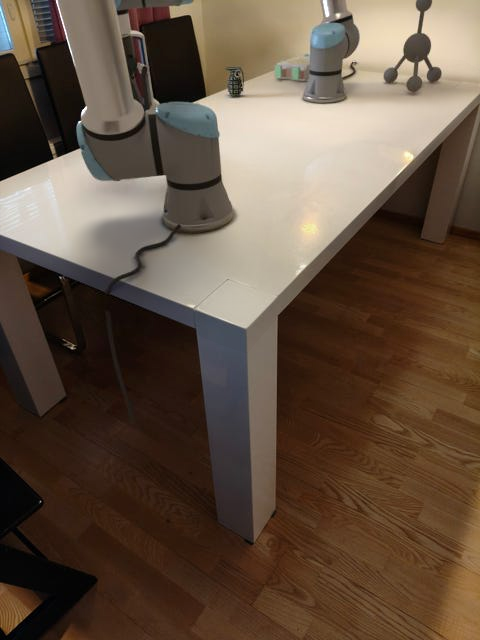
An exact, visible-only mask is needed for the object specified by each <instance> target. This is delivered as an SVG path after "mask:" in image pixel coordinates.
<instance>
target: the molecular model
mask: <svg viewBox="0 0 480 640" xmlns="http://www.w3.org/2000/svg"><path fill="white" fill-rule="evenodd" d="M432 5H433V0H415V9H416V10H417V11H418V12H420V13H419V18H418V26H417V30H416V33H413V34H411V35H409V37H407V39H406V40H405V42H404V44H403V48H402V49H403V50H402V51H403V52H402V53H403V56H401V58H400V60H399V61H398V62H397V63H396V64H395V66H394V67H388V68H386V69H385V71H384V73H383V80H384V82H386V83H388V84H391V83H394V82H396V81H397V80H398V76H399V72H398V69H399V68H400V67H401V65H402V64H403V63H404V62H405V60H407V61H408V62H410V63H412V64H413V74H412V76H410V77H409V78H408V79H407V81H406V89H407V90H408V91H409V92H411V93H416V92H418V91H419V90H420V89H421V88H422V87H423V79H422V77H420V75H419V63H421V62H423V61H424V62H425V65H426V67H427V69H428V71H427V72H426V79H427V81H428V82H430V83H436V82H438V81H439V80H440V79H441V78H442V74H443V73H442V69H441V68H440V67H439V66H433V65H432V63H431V60H430V59H429V54H430V52H431V51H432V41H431V39H430V37H429V36H428V34H426V33H423V24H424V18H425V13H426V12H427V11H428V10H429V9H431V8H432Z"/></svg>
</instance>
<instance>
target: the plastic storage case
mask: <svg viewBox="0 0 480 640" xmlns="http://www.w3.org/2000/svg"><path fill="white" fill-rule="evenodd" d="M309 71H310V54H309V53H304V55H301V56H294V57H292V58H289V59H283V58H282V59H280V62H277V63H276V64H275V65H274V78H275V79H283V80H291V81H302V82H307V81H308V78H309Z"/></svg>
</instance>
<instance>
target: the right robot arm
mask: <svg viewBox="0 0 480 640" xmlns="http://www.w3.org/2000/svg"><path fill="white" fill-rule="evenodd" d="M319 1H320V5H321V10H322V11H321V12H322V17H323V19H322V20H321V22H320V24H318V25H316V26H314V27H313V28H312V30H311V31H310V39H309V45H310V46H309V55H310V71H309V78H308V80H307V81H306V84H305V88H304V92H303V100H304V101H306V102H310V103H314V104H315V103H316V104H330V103H331V104H332V103H337V102H341V101H343V100H345V98H346V88H345V85H344V80H345V79H347V78H349V77H352V76H353V75H355V73H356V68H355V67H354V66H353V65H354V64H355V65H357V61H356V62H353V61H352V62H351V63H350V65H349V68H351V69H352V72H351V73H350V74H347V75H345V76H343V74H342V73H343V62H344V61H343V60H345V59H348V58H349V57H351V56H352V55H353V53H354V52H355V51H357V48H358V46H359V44H360V38H361V37H360V35H361V34H360V30H359V28H358V27H357V25H356V24H355V21H354V17H353V15H354V14H353V12H351V11H349V10H348V7H347V0H319Z"/></svg>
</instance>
